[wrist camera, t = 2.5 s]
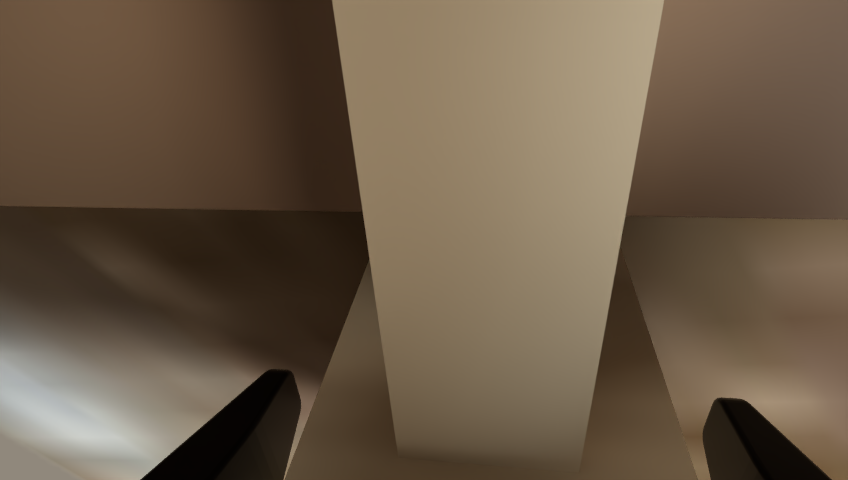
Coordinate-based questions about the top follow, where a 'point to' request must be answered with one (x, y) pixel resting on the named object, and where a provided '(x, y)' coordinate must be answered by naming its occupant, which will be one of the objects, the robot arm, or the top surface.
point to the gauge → (494, 249)
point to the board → (329, 119)
